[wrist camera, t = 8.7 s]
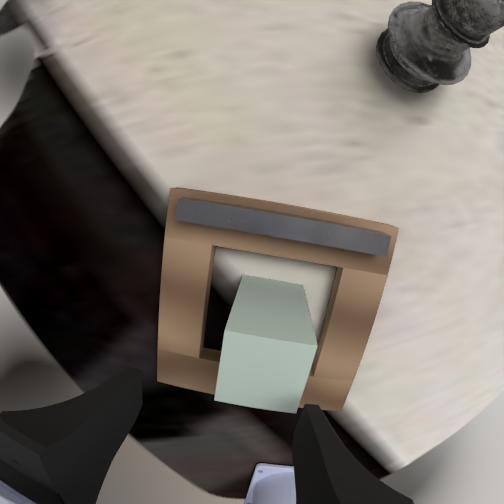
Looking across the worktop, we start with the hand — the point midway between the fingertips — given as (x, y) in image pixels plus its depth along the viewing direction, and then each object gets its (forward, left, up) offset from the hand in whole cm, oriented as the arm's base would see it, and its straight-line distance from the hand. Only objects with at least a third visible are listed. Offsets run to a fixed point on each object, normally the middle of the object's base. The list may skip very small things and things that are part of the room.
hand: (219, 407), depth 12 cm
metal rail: (+7, -2, -8) cm, 11 cm away
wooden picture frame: (+1, -2, -9) cm, 10 cm away
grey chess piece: (+20, -9, -10) cm, 24 cm away
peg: (+1, -2, -9) cm, 10 cm away
